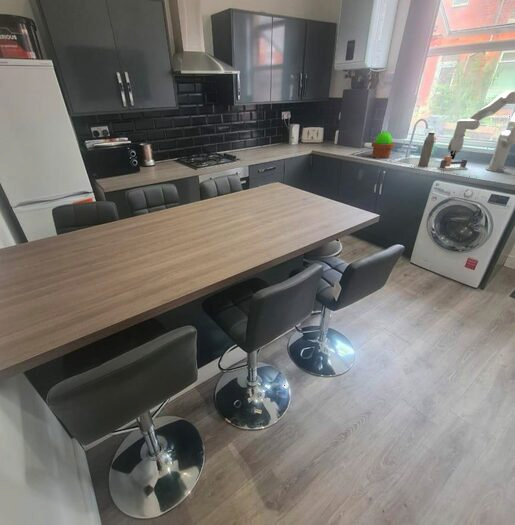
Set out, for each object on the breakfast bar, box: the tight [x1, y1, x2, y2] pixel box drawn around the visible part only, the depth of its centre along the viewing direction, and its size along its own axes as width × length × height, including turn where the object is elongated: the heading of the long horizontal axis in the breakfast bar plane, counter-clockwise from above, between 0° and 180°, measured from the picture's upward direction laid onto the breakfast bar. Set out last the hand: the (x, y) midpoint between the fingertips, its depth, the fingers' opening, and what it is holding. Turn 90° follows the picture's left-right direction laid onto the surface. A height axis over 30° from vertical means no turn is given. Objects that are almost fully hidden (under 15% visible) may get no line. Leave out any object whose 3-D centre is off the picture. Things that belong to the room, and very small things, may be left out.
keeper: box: [443, 155, 453, 167], centre depth 254 cm, size 5×4×8 cm
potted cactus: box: [370, 130, 395, 159], centre depth 303 cm, size 22×22×25 cm
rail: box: [436, 158, 468, 171], centre depth 256 cm, size 10×22×7 cm, turn 98°
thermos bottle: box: [418, 132, 436, 167], centre depth 263 cm, size 8×8×28 cm
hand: (451, 158), depth 254 cm, fingers closed
